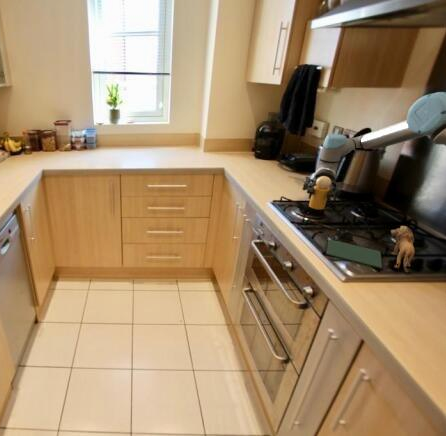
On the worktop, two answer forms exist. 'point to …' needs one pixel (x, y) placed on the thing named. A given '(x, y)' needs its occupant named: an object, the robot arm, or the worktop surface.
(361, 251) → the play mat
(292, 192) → the worktop surface
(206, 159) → the worktop surface
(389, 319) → the worktop surface
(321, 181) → the peg doll
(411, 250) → the lion figurine
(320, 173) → the robot arm
